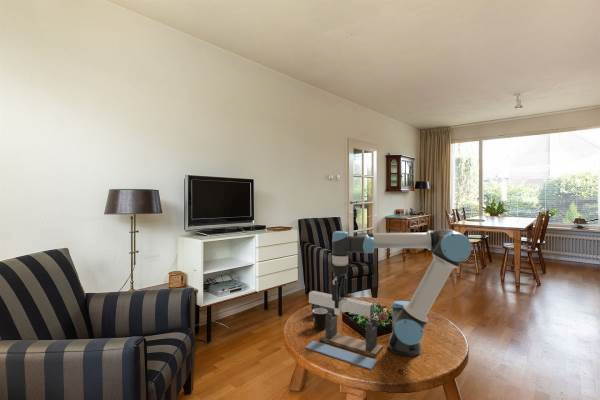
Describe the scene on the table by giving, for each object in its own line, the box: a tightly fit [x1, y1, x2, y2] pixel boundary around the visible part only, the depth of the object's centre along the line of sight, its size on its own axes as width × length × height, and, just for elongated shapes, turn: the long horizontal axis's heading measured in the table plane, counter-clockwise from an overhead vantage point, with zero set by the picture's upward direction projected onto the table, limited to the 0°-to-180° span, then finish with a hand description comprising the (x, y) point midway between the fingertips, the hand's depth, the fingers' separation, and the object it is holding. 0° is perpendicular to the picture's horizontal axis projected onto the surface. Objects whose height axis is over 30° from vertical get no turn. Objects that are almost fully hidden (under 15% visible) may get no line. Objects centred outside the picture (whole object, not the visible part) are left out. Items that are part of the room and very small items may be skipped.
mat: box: [304, 340, 378, 371], centre depth 147 cm, size 34×8×1 cm, turn 56°
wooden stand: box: [319, 309, 384, 358], centre depth 157 cm, size 30×10×14 cm, turn 56°
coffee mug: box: [311, 308, 328, 332], centre depth 177 cm, size 12×9×10 cm
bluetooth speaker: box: [310, 303, 333, 314], centre depth 199 cm, size 23×9×10 cm, turn 130°
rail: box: [308, 290, 375, 318], centre depth 147 cm, size 32×4×5 cm, turn 56°
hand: (339, 312), depth 147 cm, fingers closed on rail, 4 cm apart
